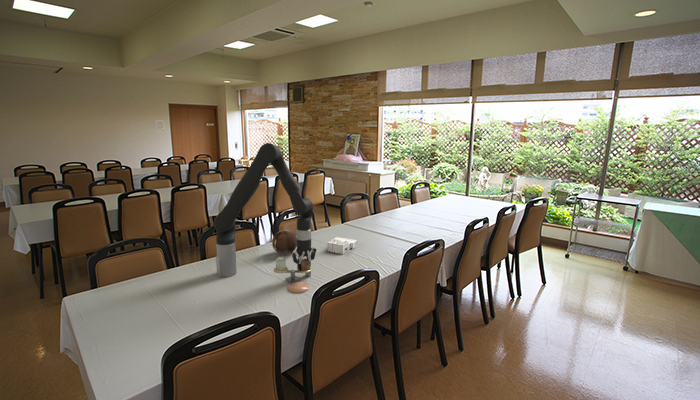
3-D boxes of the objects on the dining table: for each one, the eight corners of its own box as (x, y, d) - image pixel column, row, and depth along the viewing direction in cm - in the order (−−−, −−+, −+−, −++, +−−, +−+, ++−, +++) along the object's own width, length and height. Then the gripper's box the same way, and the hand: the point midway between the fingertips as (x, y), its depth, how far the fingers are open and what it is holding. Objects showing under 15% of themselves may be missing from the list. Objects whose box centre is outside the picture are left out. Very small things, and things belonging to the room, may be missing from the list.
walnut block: (302, 271, 176) (302, 262, 175) (298, 268, 180) (298, 259, 179) (310, 269, 179) (310, 260, 178) (305, 267, 182) (305, 258, 181)
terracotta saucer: (294, 295, 160) (294, 293, 160) (284, 287, 168) (284, 285, 168) (312, 289, 166) (312, 288, 166) (302, 282, 174) (302, 280, 174)
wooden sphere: (294, 248, 222) (294, 226, 219) (299, 256, 208) (299, 232, 205) (270, 251, 216) (270, 228, 213) (274, 259, 203) (274, 235, 200)
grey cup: (278, 271, 168) (278, 261, 166) (274, 268, 171) (274, 257, 170) (287, 269, 170) (287, 259, 169) (283, 266, 174) (282, 256, 173)
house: (348, 257, 209) (348, 247, 208) (321, 252, 216) (321, 243, 215) (362, 246, 229) (362, 237, 228) (337, 242, 236) (337, 233, 235)
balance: (277, 287, 168) (277, 273, 166) (271, 282, 173) (271, 268, 172) (313, 277, 179) (313, 264, 178) (306, 273, 185) (306, 260, 183)
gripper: (294, 241, 168) (295, 274, 172) (319, 237, 177) (319, 268, 180) (287, 237, 174) (288, 269, 178) (312, 233, 183) (312, 263, 186)
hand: (304, 268), depth 179 cm, fingers closed on walnut block, 4 cm apart
